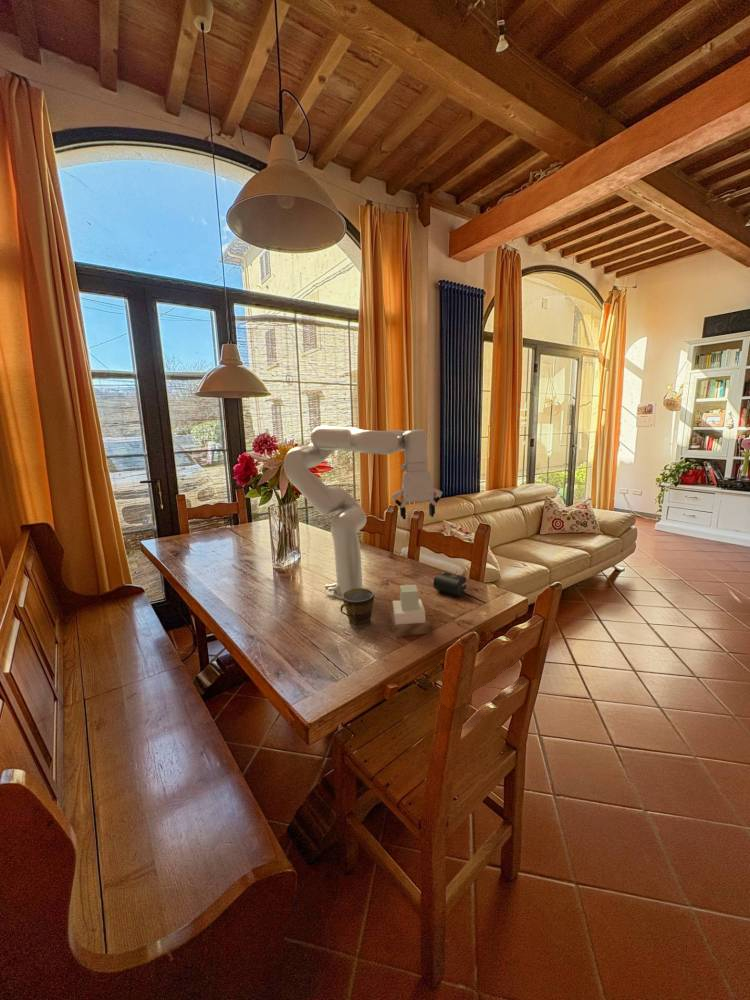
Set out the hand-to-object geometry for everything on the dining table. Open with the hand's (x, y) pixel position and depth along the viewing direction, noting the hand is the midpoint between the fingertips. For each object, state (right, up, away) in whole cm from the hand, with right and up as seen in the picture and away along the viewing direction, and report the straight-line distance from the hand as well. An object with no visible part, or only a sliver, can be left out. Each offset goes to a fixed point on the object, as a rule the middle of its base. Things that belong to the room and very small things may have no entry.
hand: (417, 517), depth 138 cm
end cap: (+13, -29, +10) cm, 33 cm away
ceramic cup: (-20, -34, -10) cm, 41 cm away
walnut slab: (-4, -34, -11) cm, 36 cm away
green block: (-4, -27, -13) cm, 30 cm away
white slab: (-4, -30, -12) cm, 33 cm away
